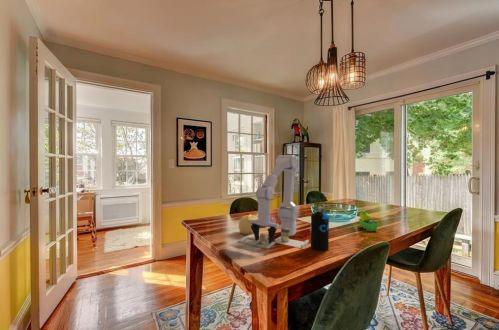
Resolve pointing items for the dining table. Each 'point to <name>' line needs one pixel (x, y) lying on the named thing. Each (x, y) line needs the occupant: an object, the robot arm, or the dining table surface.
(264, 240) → the banded peg
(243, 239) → the pin block
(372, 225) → the green lumpy piece
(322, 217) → the aerosol can
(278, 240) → the flanged base plate
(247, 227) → the sculpture
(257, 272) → the dining table surface
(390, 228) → the dining table surface
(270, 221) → the donut
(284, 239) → the plain peg
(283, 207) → the robot arm
